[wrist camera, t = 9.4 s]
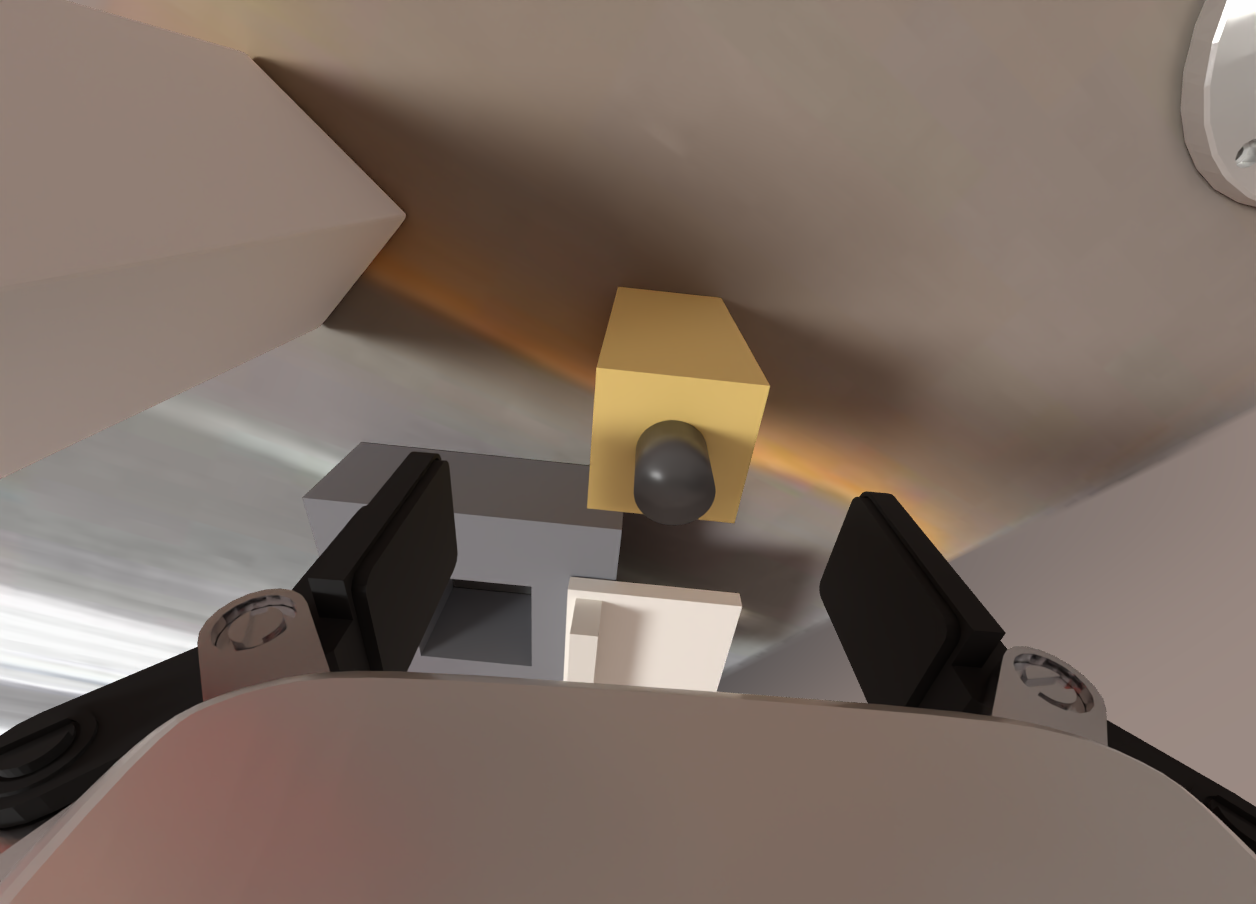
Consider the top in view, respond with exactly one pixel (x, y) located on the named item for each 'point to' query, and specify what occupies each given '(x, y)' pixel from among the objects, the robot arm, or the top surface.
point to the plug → (673, 409)
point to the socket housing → (491, 554)
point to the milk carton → (155, 220)
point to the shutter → (647, 634)
